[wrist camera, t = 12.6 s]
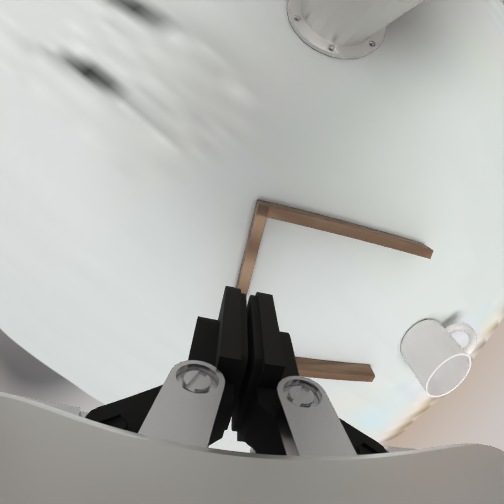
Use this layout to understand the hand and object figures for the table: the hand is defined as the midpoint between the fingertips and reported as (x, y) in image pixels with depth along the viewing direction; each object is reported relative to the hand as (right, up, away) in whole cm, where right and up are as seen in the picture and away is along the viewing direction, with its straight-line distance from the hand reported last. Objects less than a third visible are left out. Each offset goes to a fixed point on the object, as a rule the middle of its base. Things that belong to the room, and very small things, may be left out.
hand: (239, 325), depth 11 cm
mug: (+30, -11, +34) cm, 46 cm away
